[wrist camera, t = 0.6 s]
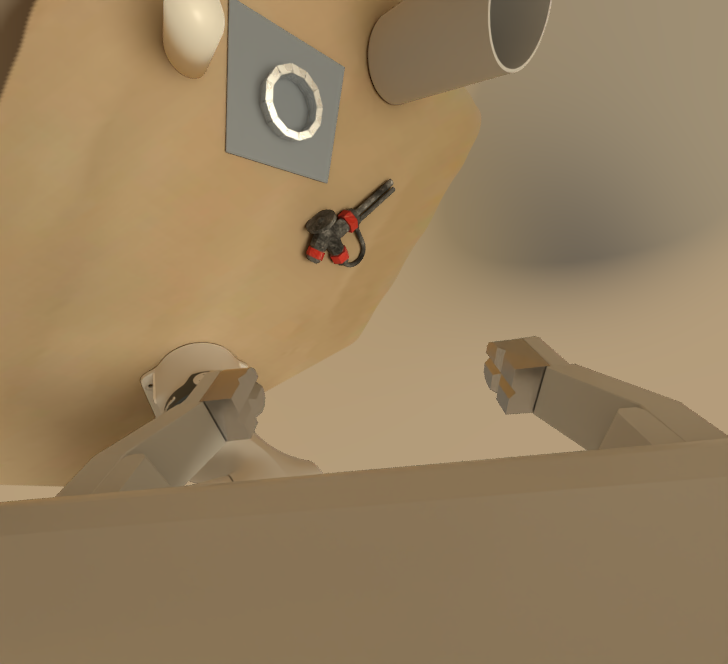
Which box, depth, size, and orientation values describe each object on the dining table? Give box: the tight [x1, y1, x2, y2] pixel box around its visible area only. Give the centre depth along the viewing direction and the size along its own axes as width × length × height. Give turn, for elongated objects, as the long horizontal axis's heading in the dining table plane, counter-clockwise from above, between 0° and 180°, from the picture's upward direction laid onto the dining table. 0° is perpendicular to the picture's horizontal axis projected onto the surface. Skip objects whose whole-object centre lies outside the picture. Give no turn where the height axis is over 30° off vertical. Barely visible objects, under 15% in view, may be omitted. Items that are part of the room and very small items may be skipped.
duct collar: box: [259, 63, 323, 142], centre depth 43 cm, size 9×9×4 cm
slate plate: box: [226, 0, 345, 183], centre depth 44 cm, size 18×18×1 cm
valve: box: [306, 179, 395, 267], centre depth 60 cm, size 6×26×15 cm
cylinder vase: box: [368, 0, 552, 105], centre depth 42 cm, size 12×12×25 cm
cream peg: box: [163, 0, 225, 79], centre depth 30 cm, size 8×5×14 cm, turn 167°
